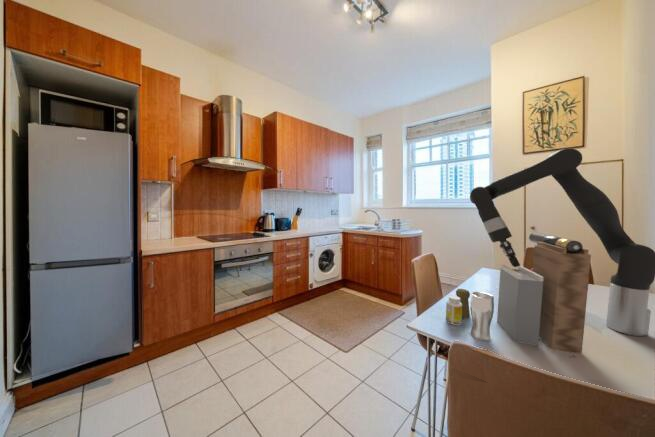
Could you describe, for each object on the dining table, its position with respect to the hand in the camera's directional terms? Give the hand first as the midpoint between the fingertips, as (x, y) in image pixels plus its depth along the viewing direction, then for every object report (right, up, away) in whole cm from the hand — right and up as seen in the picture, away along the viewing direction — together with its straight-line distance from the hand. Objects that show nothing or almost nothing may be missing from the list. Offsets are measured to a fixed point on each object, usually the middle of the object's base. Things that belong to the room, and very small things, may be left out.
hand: (516, 266), depth 99 cm
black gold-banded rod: (+3, +9, -12) cm, 16 cm away
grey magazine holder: (-8, -23, -10) cm, 26 cm away
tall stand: (+2, -23, -14) cm, 27 cm away
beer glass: (-23, -23, -12) cm, 35 cm away
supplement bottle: (-27, -22, -3) cm, 35 cm away
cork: (-21, -22, +4) cm, 30 cm away
